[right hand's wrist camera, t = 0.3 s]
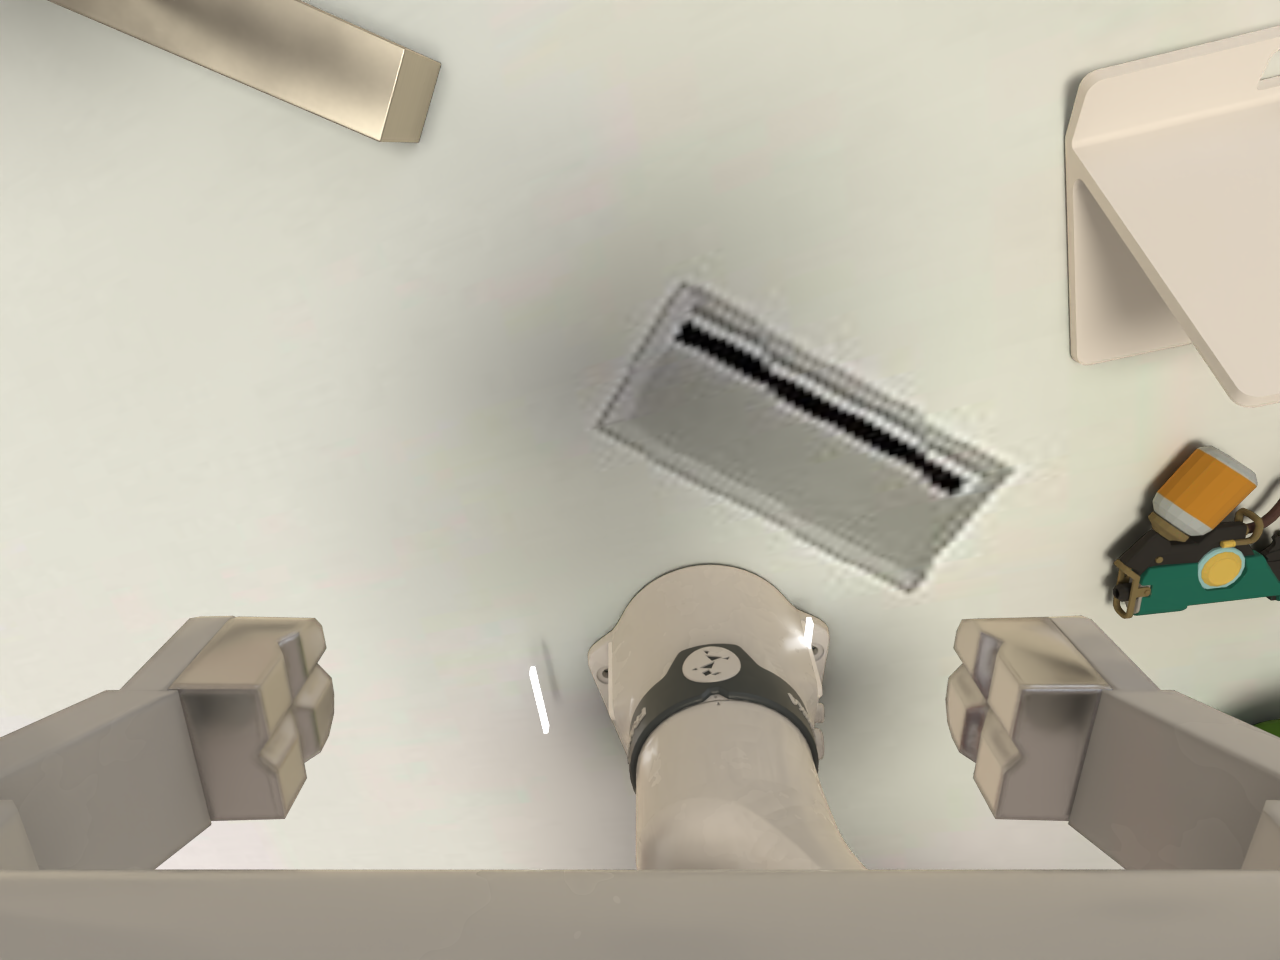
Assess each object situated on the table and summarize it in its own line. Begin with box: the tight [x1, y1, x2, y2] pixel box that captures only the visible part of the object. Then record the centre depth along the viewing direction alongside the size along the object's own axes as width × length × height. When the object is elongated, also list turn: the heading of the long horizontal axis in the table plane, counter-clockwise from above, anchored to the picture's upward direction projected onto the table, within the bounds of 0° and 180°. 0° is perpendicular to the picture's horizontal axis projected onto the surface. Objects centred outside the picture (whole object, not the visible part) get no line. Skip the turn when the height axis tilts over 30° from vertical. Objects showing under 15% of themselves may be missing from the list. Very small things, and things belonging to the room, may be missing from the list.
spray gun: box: [1113, 446, 1280, 619], centre depth 58 cm, size 4×17×15 cm
